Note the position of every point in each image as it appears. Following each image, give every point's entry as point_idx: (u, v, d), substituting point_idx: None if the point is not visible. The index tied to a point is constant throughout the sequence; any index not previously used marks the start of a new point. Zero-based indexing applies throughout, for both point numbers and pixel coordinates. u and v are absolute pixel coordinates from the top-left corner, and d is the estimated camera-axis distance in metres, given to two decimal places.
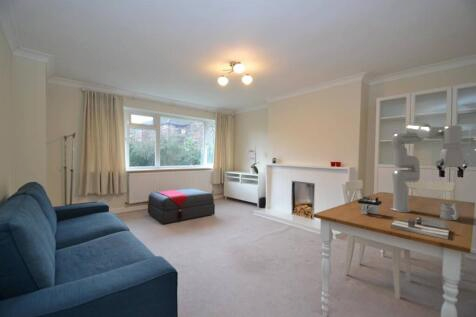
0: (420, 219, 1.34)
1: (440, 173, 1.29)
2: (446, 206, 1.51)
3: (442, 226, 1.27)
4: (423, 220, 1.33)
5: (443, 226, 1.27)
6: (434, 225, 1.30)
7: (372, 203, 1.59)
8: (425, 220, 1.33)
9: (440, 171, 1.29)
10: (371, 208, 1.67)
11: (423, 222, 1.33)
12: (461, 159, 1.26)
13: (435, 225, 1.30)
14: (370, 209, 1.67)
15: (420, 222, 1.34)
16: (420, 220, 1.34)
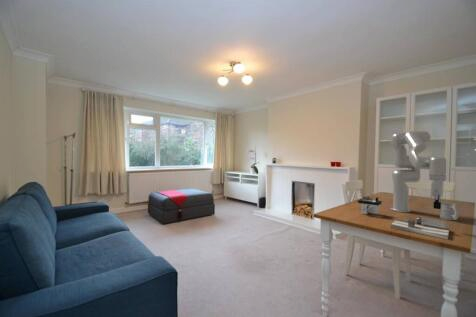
0: (420, 219, 1.34)
1: (437, 205, 1.33)
2: (446, 206, 1.51)
3: (442, 226, 1.27)
4: (423, 220, 1.33)
5: (443, 226, 1.27)
6: (434, 225, 1.30)
7: (372, 203, 1.59)
8: (425, 220, 1.33)
9: (437, 203, 1.33)
10: (371, 208, 1.67)
11: (423, 222, 1.33)
12: None
13: (435, 225, 1.30)
14: (370, 209, 1.67)
15: (420, 222, 1.34)
16: (420, 220, 1.34)
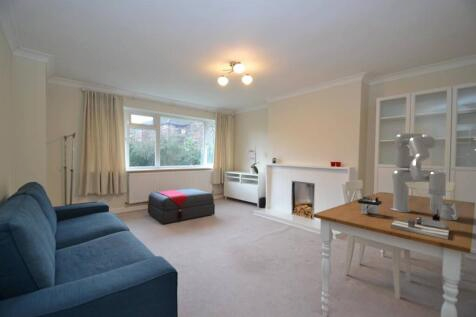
0: (420, 219, 1.34)
1: (436, 219, 1.34)
2: (446, 206, 1.51)
3: (442, 226, 1.27)
4: (423, 220, 1.33)
5: (443, 226, 1.27)
6: (434, 225, 1.30)
7: (372, 203, 1.59)
8: (425, 220, 1.33)
9: (436, 217, 1.34)
10: (371, 208, 1.67)
11: (423, 222, 1.33)
12: None
13: (435, 225, 1.30)
14: (370, 209, 1.67)
15: (420, 222, 1.34)
16: (420, 220, 1.34)
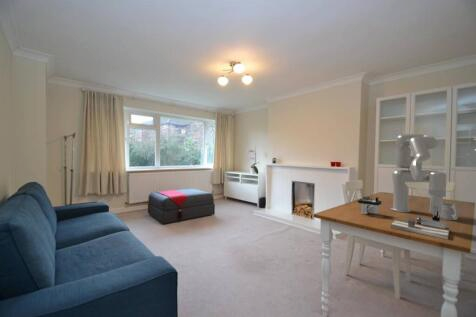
0: (420, 219, 1.34)
1: None
2: (446, 206, 1.51)
3: (442, 226, 1.27)
4: (423, 220, 1.33)
5: (443, 226, 1.27)
6: (434, 225, 1.30)
7: (372, 203, 1.59)
8: (425, 220, 1.33)
9: (436, 219, 1.31)
10: (371, 208, 1.67)
11: (423, 222, 1.33)
12: None
13: (434, 225, 1.30)
14: (370, 209, 1.67)
15: (420, 222, 1.34)
16: (420, 220, 1.34)
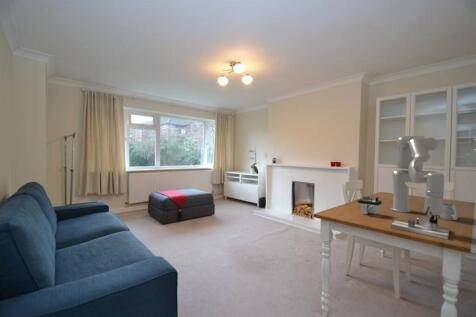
0: (418, 219, 1.35)
1: None
2: (446, 206, 1.51)
3: (430, 227, 1.25)
4: (420, 220, 1.34)
5: (431, 227, 1.25)
6: (426, 226, 1.29)
7: (372, 203, 1.59)
8: (421, 220, 1.33)
9: (432, 221, 1.28)
10: (371, 208, 1.67)
11: (420, 222, 1.34)
12: (442, 206, 1.28)
13: (426, 226, 1.29)
14: (370, 209, 1.67)
15: (418, 222, 1.35)
16: (418, 220, 1.35)
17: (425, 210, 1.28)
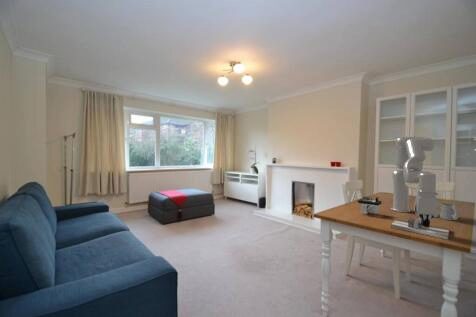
0: (417, 218, 1.36)
1: (423, 222, 1.28)
2: (446, 206, 1.51)
3: (414, 225, 1.29)
4: None
5: None
6: None
7: (372, 203, 1.59)
8: None
9: (423, 220, 1.28)
10: (371, 208, 1.67)
11: None
12: (435, 207, 1.25)
13: None
14: (370, 209, 1.67)
15: None
16: None
17: (414, 208, 1.31)
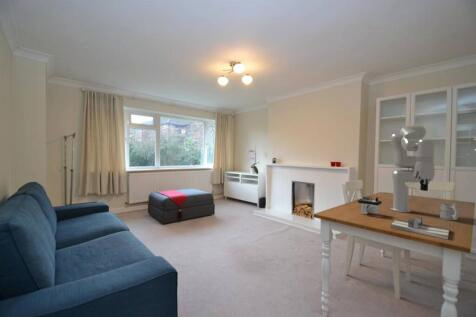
0: (417, 218, 1.36)
1: (422, 187, 1.34)
2: (446, 206, 1.51)
3: (414, 225, 1.29)
4: None
5: None
6: None
7: (372, 203, 1.60)
8: None
9: (422, 185, 1.34)
10: (371, 208, 1.67)
11: None
12: (433, 171, 1.33)
13: None
14: (370, 209, 1.67)
15: None
16: None
17: (415, 175, 1.35)
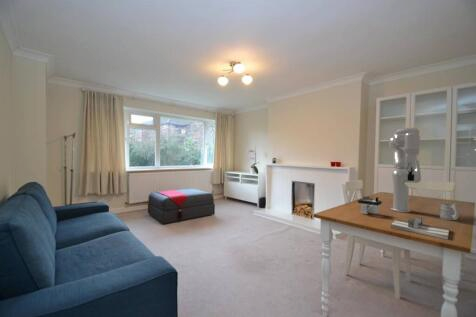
0: (417, 218, 1.36)
1: (410, 177, 1.44)
2: (446, 206, 1.51)
3: (414, 225, 1.29)
4: None
5: None
6: None
7: (372, 203, 1.60)
8: None
9: (410, 175, 1.44)
10: (371, 208, 1.67)
11: None
12: (416, 162, 1.46)
13: None
14: (370, 209, 1.67)
15: None
16: None
17: (406, 166, 1.43)
